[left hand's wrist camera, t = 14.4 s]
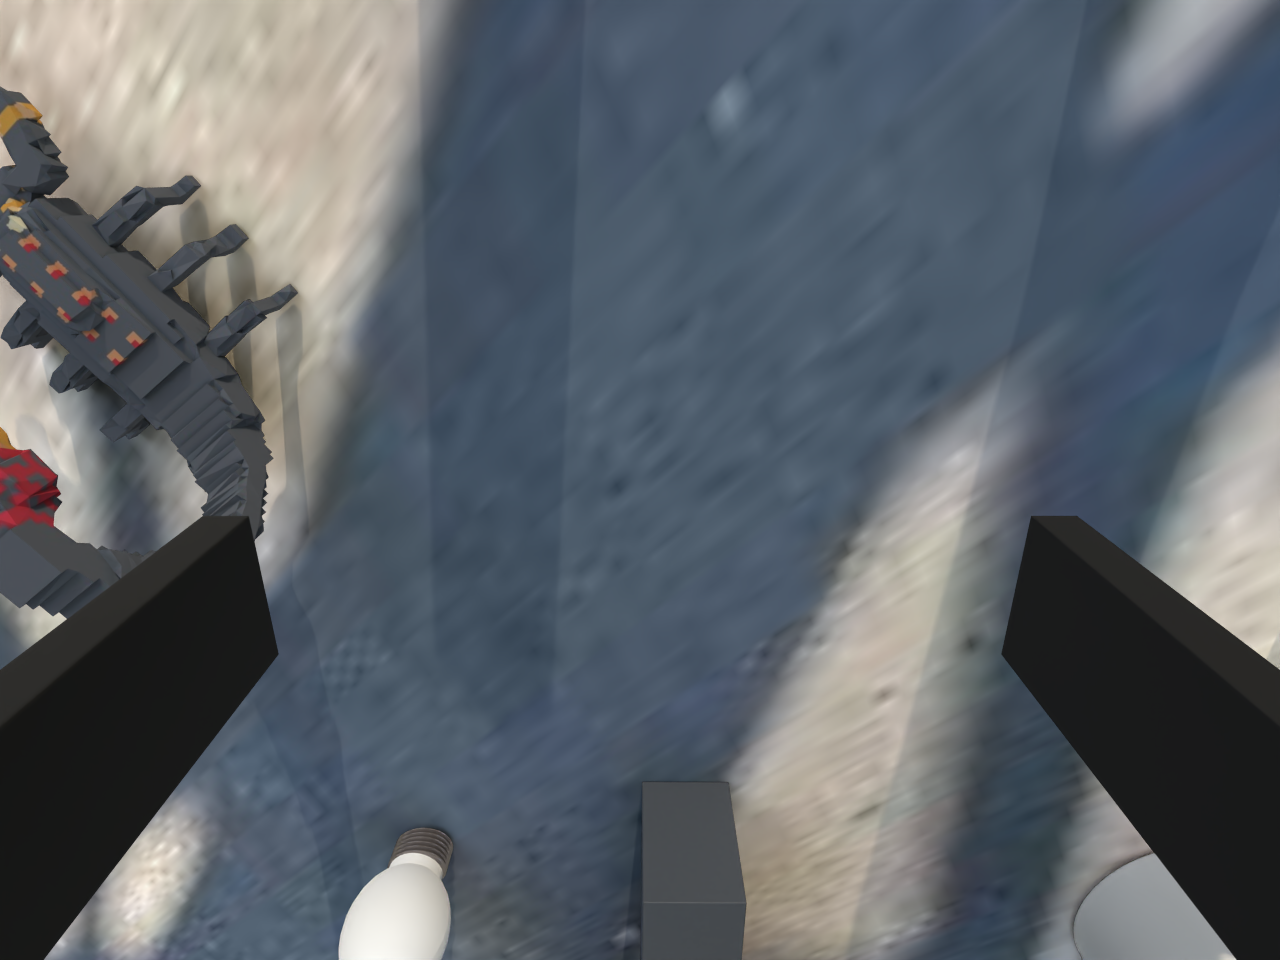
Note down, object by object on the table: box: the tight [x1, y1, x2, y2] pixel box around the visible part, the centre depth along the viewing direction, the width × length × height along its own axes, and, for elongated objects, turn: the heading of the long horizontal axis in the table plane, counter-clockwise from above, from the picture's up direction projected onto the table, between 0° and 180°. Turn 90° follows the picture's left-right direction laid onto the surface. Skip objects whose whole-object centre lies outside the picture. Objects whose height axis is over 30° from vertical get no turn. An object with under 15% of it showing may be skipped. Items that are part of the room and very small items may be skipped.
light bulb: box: [339, 828, 453, 960], centre depth 49 cm, size 7×7×11 cm
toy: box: [0, 87, 298, 619], centre depth 31 cm, size 13×27×18 cm, turn 37°
